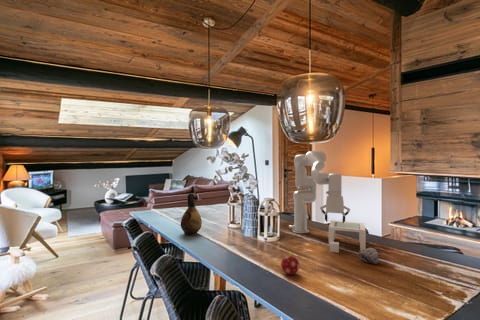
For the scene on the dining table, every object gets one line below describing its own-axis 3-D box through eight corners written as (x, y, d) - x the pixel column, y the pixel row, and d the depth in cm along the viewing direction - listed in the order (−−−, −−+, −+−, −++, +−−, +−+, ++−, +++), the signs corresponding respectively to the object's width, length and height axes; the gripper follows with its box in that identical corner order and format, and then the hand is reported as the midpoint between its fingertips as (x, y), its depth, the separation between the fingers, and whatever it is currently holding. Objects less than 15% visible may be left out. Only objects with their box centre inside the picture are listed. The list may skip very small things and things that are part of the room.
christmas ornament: (286, 268, 141) (286, 249, 141) (302, 273, 135) (302, 252, 135) (277, 274, 134) (278, 253, 134) (293, 279, 128) (293, 257, 128)
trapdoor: (334, 228, 179) (334, 226, 179) (335, 223, 192) (335, 221, 192) (359, 230, 173) (359, 228, 173) (358, 225, 186) (358, 223, 186)
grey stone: (329, 251, 167) (329, 243, 167) (330, 249, 172) (330, 241, 172) (338, 253, 165) (338, 244, 165) (339, 250, 170) (339, 242, 170)
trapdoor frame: (328, 246, 177) (328, 227, 177) (330, 237, 196) (331, 220, 196) (365, 250, 169) (365, 230, 169) (364, 241, 188) (364, 223, 188)
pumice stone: (361, 268, 148) (381, 265, 145) (357, 253, 149) (377, 250, 145) (360, 261, 158) (379, 258, 154) (356, 247, 158) (374, 244, 155)
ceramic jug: (205, 234, 203) (205, 194, 203) (185, 238, 194) (185, 195, 194) (195, 229, 217) (195, 191, 217) (176, 232, 208) (176, 192, 208)
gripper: (319, 193, 168) (319, 222, 168) (350, 195, 162) (350, 224, 162) (320, 192, 175) (320, 219, 175) (350, 193, 169) (350, 221, 169)
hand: (334, 221), depth 168 cm, fingers open, 9 cm apart
